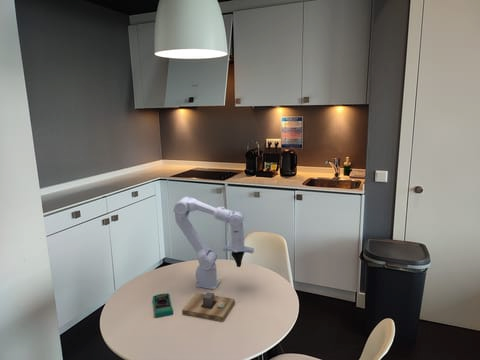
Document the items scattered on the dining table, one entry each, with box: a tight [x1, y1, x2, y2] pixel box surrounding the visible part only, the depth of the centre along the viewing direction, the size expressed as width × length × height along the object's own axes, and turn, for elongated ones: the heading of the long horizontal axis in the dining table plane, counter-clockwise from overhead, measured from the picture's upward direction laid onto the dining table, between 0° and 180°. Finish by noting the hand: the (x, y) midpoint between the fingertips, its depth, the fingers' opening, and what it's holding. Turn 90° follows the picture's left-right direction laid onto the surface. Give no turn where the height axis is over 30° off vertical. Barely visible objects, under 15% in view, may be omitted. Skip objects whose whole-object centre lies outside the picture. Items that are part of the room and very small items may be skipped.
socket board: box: [181, 292, 235, 322], centre depth 152 cm, size 18×14×3 cm
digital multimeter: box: [152, 293, 174, 318], centre depth 154 cm, size 7×15×3 cm, turn 17°
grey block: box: [203, 291, 215, 309], centre depth 151 cm, size 3×4×6 cm
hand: (239, 266), depth 167 cm, fingers closed
